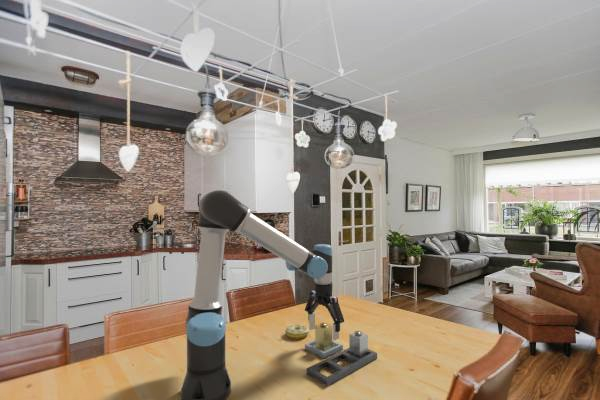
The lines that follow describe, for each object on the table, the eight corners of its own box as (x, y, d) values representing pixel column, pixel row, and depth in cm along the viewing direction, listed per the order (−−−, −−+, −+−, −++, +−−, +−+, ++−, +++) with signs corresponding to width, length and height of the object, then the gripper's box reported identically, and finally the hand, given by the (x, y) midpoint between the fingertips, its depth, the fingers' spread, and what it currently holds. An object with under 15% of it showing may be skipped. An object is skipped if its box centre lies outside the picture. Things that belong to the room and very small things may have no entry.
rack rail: (327, 386, 101) (327, 380, 101) (306, 374, 108) (306, 368, 108) (377, 358, 119) (377, 352, 119) (356, 349, 127) (356, 344, 127)
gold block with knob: (324, 352, 123) (323, 327, 124) (315, 347, 127) (315, 323, 127) (332, 348, 127) (332, 324, 127) (323, 344, 130) (323, 320, 131)
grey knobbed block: (360, 362, 116) (359, 336, 116) (349, 357, 120) (349, 332, 120) (367, 358, 120) (367, 332, 120) (357, 353, 123) (357, 328, 124)
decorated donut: (312, 333, 143) (312, 325, 143) (301, 342, 134) (301, 333, 134) (293, 329, 149) (293, 321, 149) (281, 337, 139) (281, 329, 139)
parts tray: (324, 358, 119) (324, 353, 119) (304, 348, 127) (304, 344, 127) (342, 349, 126) (342, 344, 127) (323, 341, 135) (323, 336, 135)
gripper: (352, 286, 121) (353, 341, 120) (309, 275, 139) (309, 323, 139) (340, 289, 116) (340, 347, 115) (296, 278, 134) (296, 327, 134)
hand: (323, 334), depth 127 cm, fingers open, 13 cm apart
